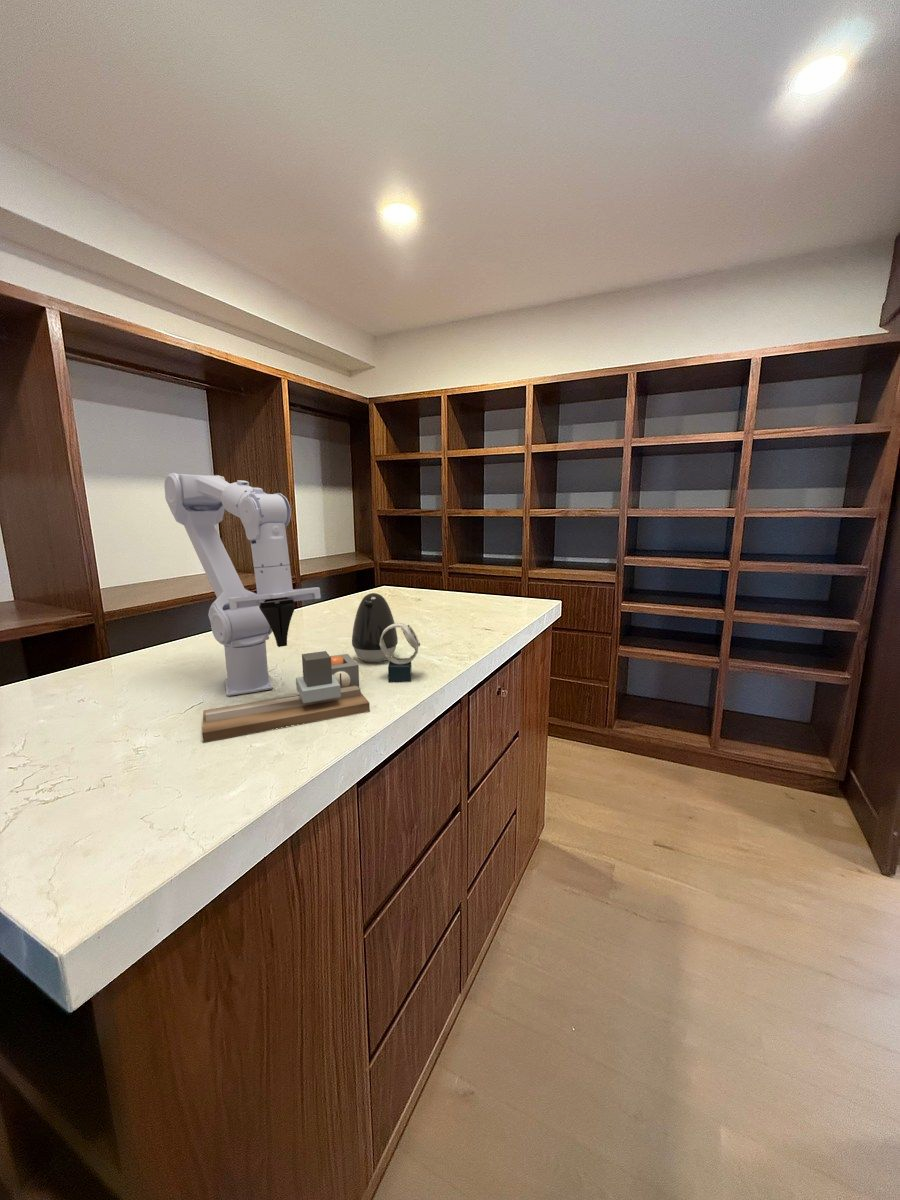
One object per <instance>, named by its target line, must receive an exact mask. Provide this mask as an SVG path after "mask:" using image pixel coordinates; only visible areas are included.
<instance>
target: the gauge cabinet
mask: <svg viewBox="0 0 900 1200" xmlns="http://www.w3.org/2000/svg"><path fill="white" fill-rule="evenodd" d="M334 656H342V657H343V664H338V665H331V668H332V675H333V676H334V677H335V679H336V680H337V681H338V683H339V684H340V687H341V688H343V687H350V686H358V687H359V688H360V671H359V670H360V666H359V664H358V663H357V662H356V661H355V659H354V658H352V656H351V655H350V654H349V653H343V654H336V655H335V654H334Z"/></svg>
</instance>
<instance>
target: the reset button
mask: <svg viewBox="0 0 900 1200" xmlns="http://www.w3.org/2000/svg"><path fill="white" fill-rule="evenodd" d="M329 656H330V657H331V665H338V664H343V657H342V656H335V655H329Z"/></svg>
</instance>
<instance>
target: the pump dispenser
mask: <svg viewBox="0 0 900 1200" xmlns="http://www.w3.org/2000/svg"><path fill="white" fill-rule="evenodd" d="M395 623H396V622H395V619H394V616H393V612H392V611H391V608H390V605H389V603H388V602H387V600H386V598H385V597H383V595H382V594H380V593H376V592H372V593H368V594H366V595H365V596H364V597H362V600H361V601H360V603H359V605H358V608H357V611H356V614H355V618H354V621H353V627H352V635H351V646H352V647H353V649H354V652H355V655H356V656H357V657H358V658H359V659H360V660H362V661H365V662H366V663H380V662H385V661H388V660H387V659H386V657H385V656H384V654H383V653H382V651H381V648H380V638H381V635H382V633H383V631H384V630H385V629H386V628H387V627H388V626H390V625H391V624H395ZM397 632H398V631H397V627H396V628H392V629H389V630H388V631H386V633H385V634H384V635H383V638H382V639H384V643H385V646H386V648H387V650H388V651H389V653H390V654H391V655H392V656H393V654H394V653H395V651H396V648H397V645H398V642H399V641H398V633H397Z"/></svg>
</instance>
